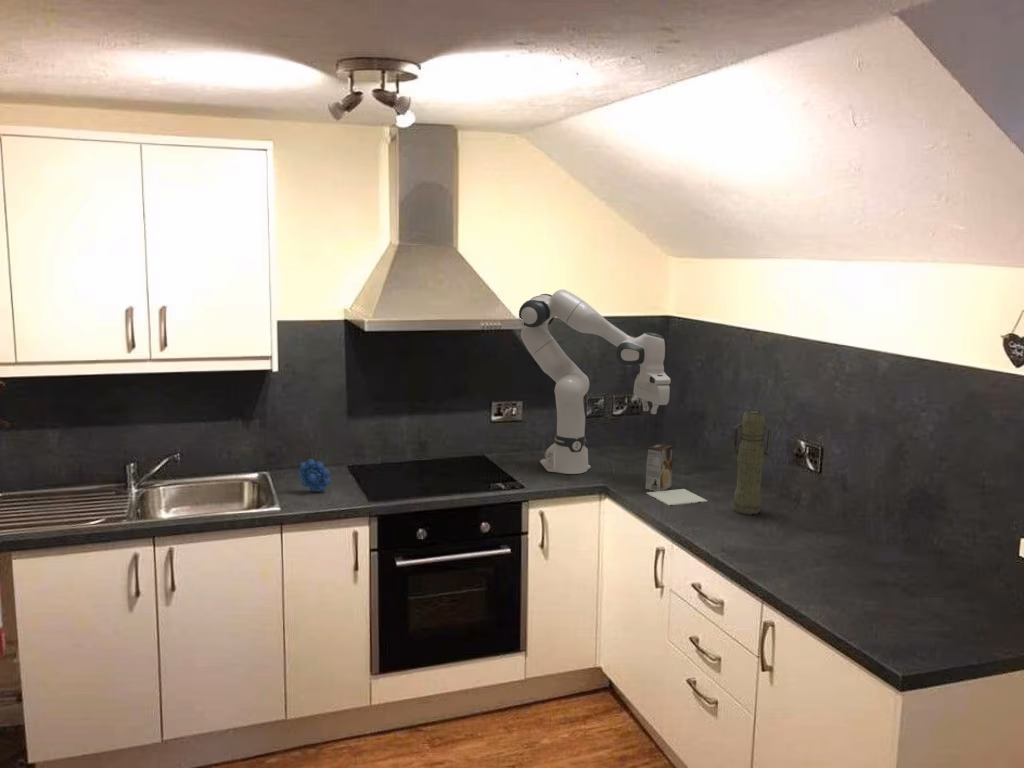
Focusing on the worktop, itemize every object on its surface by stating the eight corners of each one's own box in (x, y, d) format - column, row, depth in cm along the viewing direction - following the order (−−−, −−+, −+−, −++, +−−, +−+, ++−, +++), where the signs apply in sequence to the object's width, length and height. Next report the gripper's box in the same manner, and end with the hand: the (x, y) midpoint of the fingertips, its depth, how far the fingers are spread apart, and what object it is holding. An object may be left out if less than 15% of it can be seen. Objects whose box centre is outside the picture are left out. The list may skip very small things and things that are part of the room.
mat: (646, 493, 315) (646, 492, 315) (683, 490, 321) (684, 488, 321) (668, 505, 301) (668, 504, 301) (707, 501, 307) (707, 500, 307)
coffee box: (656, 484, 328) (658, 442, 325) (671, 487, 324) (674, 445, 322) (644, 489, 321) (647, 447, 318) (660, 492, 317) (662, 450, 314)
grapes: (294, 494, 302) (294, 461, 300) (299, 489, 309) (299, 456, 307) (327, 495, 302) (327, 462, 300) (332, 490, 309) (332, 457, 307)
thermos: (727, 506, 303) (734, 408, 297) (762, 508, 302) (769, 409, 296) (730, 513, 294) (737, 413, 289) (765, 516, 293) (774, 415, 287)
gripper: (630, 372, 332) (628, 407, 335) (658, 380, 314) (656, 418, 316) (644, 371, 335) (642, 406, 337) (673, 380, 316) (671, 417, 318)
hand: (649, 412), depth 326 cm, fingers open, 4 cm apart
